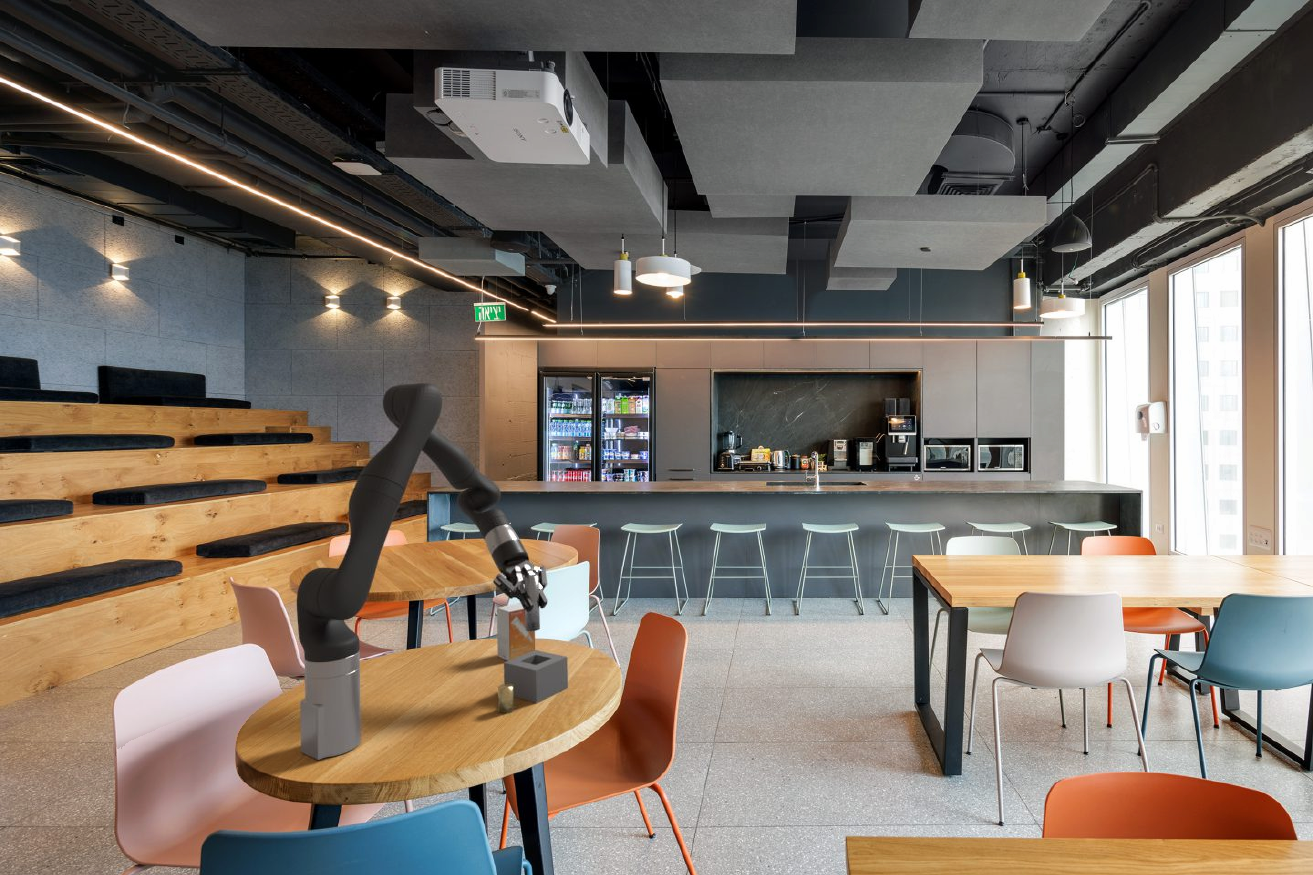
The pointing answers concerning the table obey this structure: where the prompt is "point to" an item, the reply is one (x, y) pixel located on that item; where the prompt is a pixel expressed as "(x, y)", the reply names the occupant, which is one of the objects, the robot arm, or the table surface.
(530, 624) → the grey metal rod
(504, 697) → the brass pin
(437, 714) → the table surface
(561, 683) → the collar block
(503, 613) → the small box
